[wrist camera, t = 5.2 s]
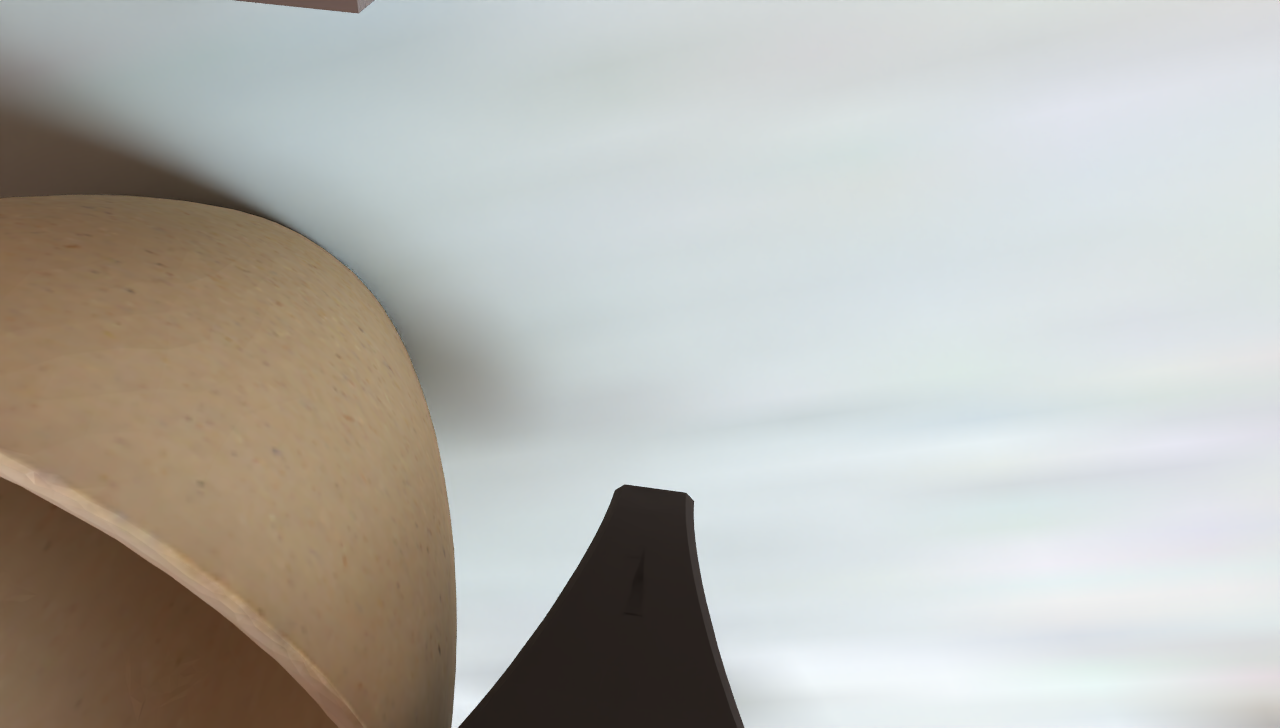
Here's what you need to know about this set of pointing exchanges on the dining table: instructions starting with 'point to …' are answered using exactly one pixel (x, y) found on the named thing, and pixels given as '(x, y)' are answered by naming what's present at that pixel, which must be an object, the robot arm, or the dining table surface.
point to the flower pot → (211, 480)
